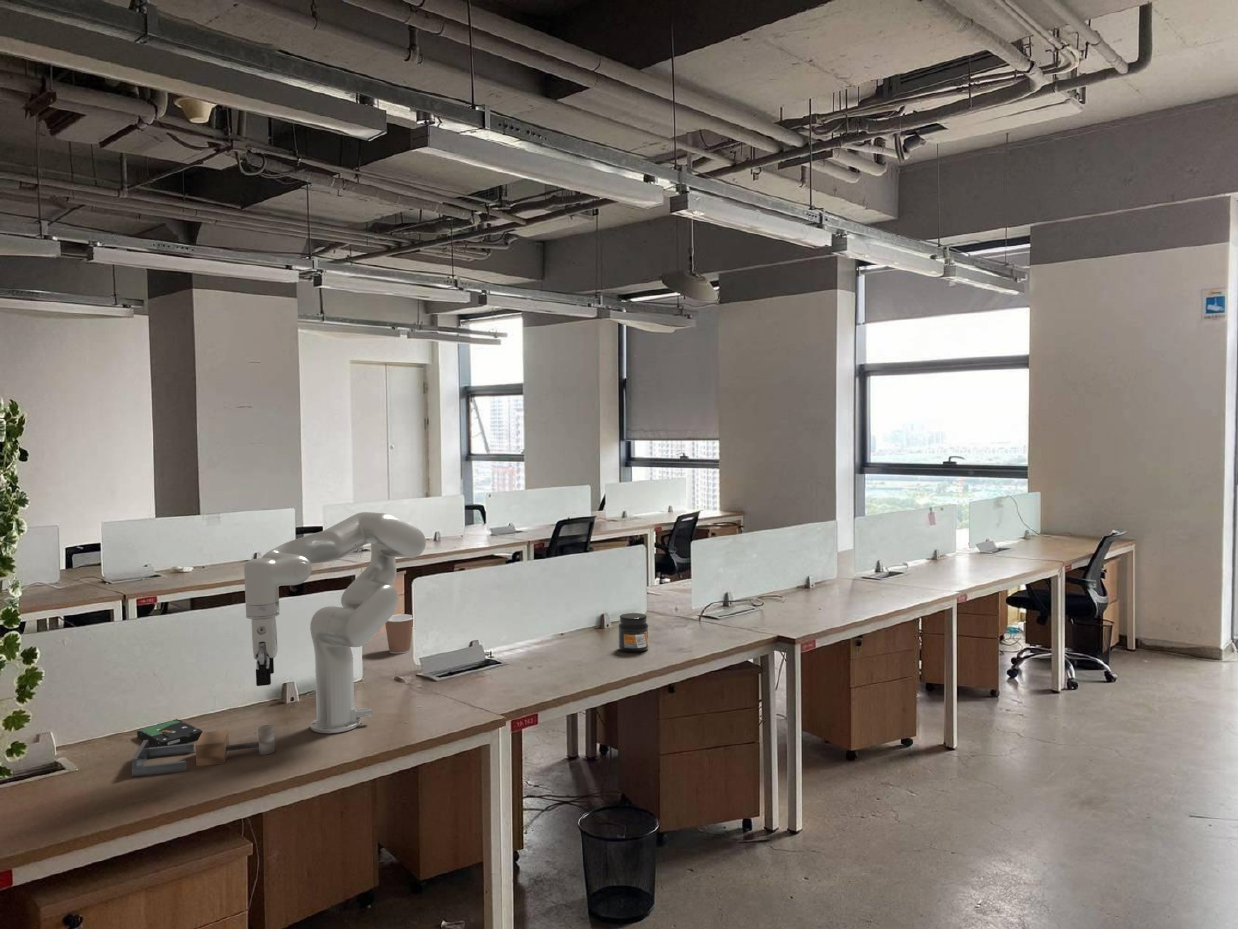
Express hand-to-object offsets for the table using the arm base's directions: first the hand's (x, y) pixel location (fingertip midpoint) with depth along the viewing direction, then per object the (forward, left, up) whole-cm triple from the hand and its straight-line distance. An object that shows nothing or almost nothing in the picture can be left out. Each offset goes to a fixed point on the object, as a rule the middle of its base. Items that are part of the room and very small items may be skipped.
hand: (265, 679), depth 214 cm
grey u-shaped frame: (+23, 0, -18) cm, 29 cm away
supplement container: (-115, -62, -18) cm, 132 cm away
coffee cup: (-37, -88, -18) cm, 97 cm away
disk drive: (+25, -18, -19) cm, 36 cm away
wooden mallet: (+7, 0, -18) cm, 19 cm away
